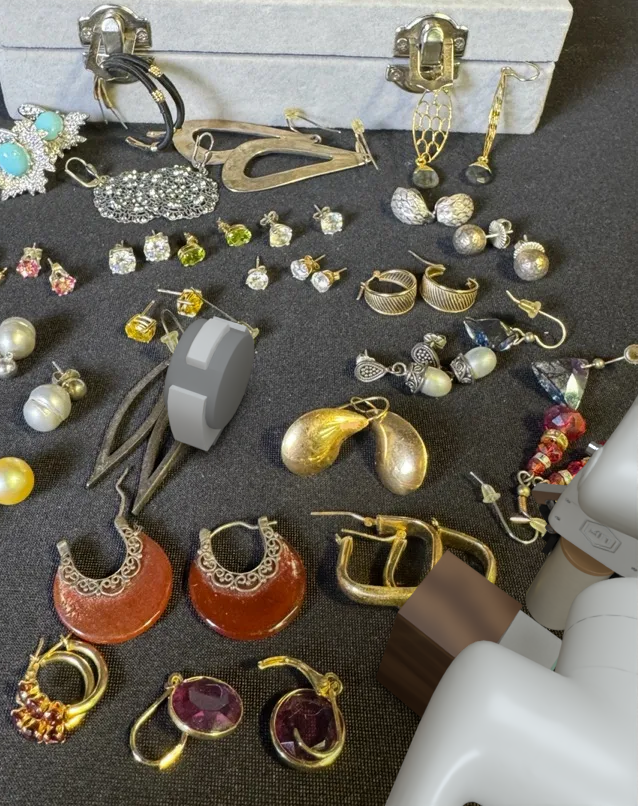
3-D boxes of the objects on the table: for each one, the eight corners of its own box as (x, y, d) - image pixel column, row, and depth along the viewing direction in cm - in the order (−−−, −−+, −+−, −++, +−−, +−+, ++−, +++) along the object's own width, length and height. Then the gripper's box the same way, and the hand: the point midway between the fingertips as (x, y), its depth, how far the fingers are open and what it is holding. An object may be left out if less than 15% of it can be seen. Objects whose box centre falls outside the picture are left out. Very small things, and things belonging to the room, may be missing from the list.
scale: (530, 704, 104) (536, 697, 102) (472, 658, 108) (476, 650, 105) (563, 652, 108) (569, 644, 106) (505, 610, 112) (510, 601, 110)
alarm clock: (213, 368, 140) (208, 287, 125) (258, 384, 138) (258, 303, 123) (165, 449, 129) (153, 371, 114) (213, 467, 127) (208, 389, 112)
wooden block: (439, 733, 101) (475, 674, 85) (375, 678, 106) (397, 612, 89) (481, 672, 106) (523, 605, 90) (418, 622, 111) (447, 549, 94)
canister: (564, 643, 94) (609, 586, 82) (514, 606, 97) (550, 546, 85) (590, 601, 97) (637, 540, 85) (541, 567, 100) (579, 504, 88)
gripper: (534, 453, 77) (493, 539, 91) (713, 567, 70) (639, 643, 83) (571, 405, 81) (526, 495, 94) (745, 509, 73) (669, 590, 87)
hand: (580, 563), depth 89 cm, fingers closed on canister, 6 cm apart
